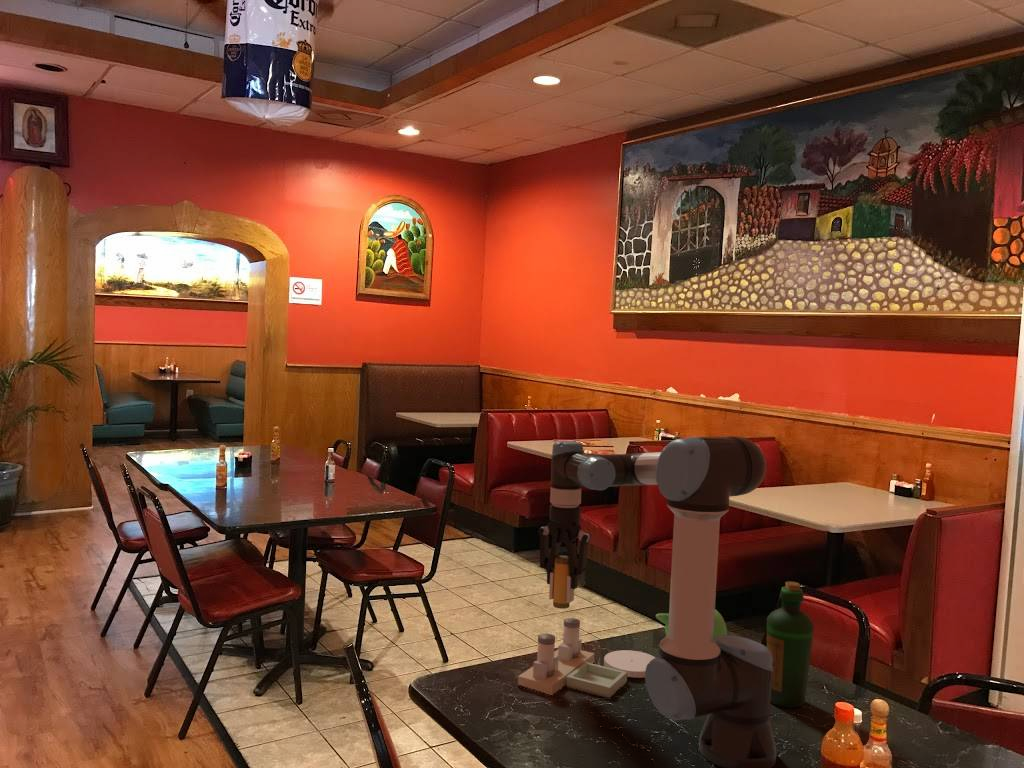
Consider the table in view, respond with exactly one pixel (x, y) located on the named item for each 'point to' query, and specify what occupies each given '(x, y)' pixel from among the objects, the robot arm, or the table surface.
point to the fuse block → (556, 660)
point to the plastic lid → (628, 662)
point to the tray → (596, 679)
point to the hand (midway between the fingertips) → (561, 599)
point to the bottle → (789, 648)
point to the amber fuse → (561, 582)
